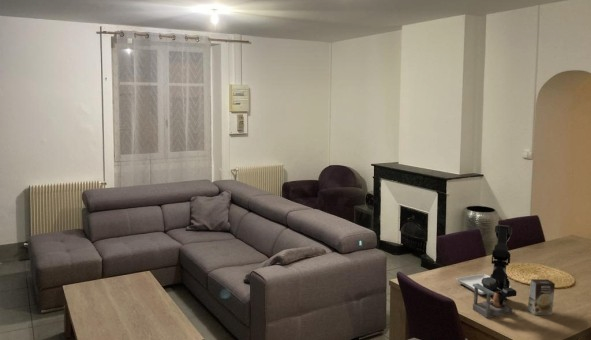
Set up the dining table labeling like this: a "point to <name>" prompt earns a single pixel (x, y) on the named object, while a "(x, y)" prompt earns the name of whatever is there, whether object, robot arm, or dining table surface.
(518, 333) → the dining table surface
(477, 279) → the salad plate
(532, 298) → the coffee box
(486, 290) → the socket block
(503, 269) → the robot arm
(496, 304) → the peg
